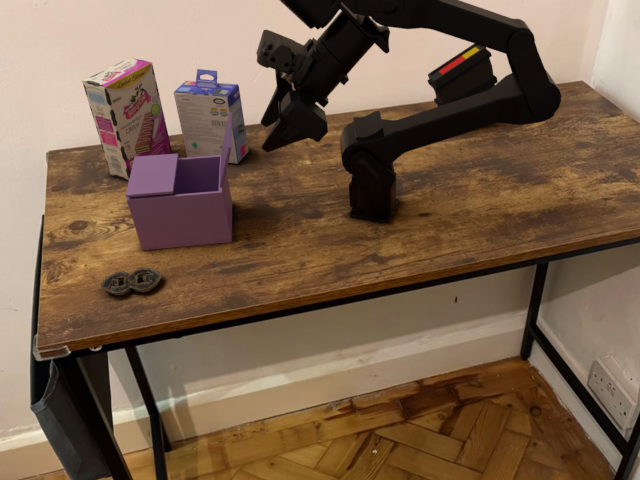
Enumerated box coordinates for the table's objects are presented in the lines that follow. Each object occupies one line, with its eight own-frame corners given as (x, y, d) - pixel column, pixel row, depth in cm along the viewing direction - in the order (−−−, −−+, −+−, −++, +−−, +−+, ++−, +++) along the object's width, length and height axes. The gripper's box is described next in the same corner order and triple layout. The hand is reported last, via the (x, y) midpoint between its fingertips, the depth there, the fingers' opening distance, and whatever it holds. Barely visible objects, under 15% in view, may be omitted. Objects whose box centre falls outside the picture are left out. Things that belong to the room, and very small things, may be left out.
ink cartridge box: (250, 150, 119) (238, 69, 109) (239, 165, 116) (225, 82, 106) (199, 145, 121) (182, 64, 111) (186, 159, 117) (167, 77, 107)
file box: (232, 203, 107) (222, 149, 100) (231, 242, 99) (220, 187, 93) (149, 210, 105) (134, 156, 99) (142, 250, 97) (124, 195, 91)
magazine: (511, 115, 126) (488, 46, 115) (452, 153, 127) (424, 88, 116) (502, 107, 129) (479, 39, 118) (444, 144, 129) (416, 80, 118)
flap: (221, 150, 100) (224, 151, 100) (219, 187, 93) (222, 188, 93) (229, 111, 96) (232, 112, 97) (228, 146, 89) (231, 147, 89)
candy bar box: (133, 183, 111) (104, 86, 100) (110, 176, 113) (79, 80, 101) (175, 153, 119) (153, 60, 107) (153, 147, 120) (128, 55, 109)
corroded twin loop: (103, 279, 92) (101, 273, 92) (162, 270, 94) (160, 264, 93) (102, 301, 89) (100, 295, 88) (163, 291, 90) (161, 285, 90)
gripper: (285, -13, 90) (217, 73, 96) (292, 35, 77) (213, 132, 83) (345, 43, 96) (278, 121, 103) (362, 97, 83) (283, 183, 89)
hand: (263, 137), depth 94 cm, fingers open, 7 cm apart
